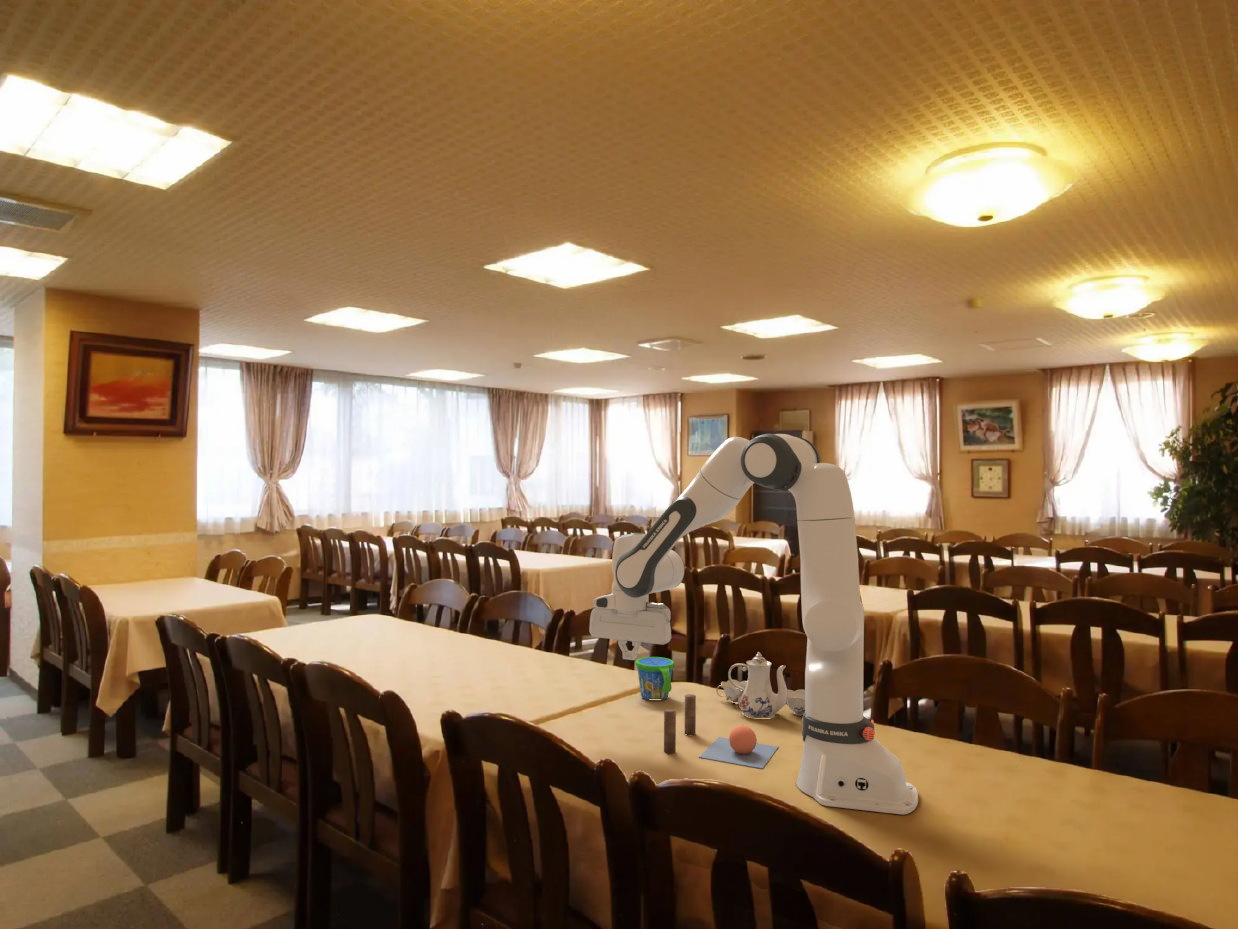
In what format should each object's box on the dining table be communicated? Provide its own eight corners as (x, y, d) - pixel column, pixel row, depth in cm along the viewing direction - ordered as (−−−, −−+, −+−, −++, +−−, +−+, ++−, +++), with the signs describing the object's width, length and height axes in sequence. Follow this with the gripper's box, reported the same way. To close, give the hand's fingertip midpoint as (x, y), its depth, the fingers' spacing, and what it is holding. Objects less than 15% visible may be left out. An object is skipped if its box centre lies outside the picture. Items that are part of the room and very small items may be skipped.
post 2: (697, 733, 175) (697, 695, 175) (693, 736, 173) (693, 698, 173) (686, 731, 176) (687, 693, 177) (683, 734, 174) (683, 696, 174)
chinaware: (822, 717, 193) (824, 653, 195) (810, 729, 178) (811, 660, 180) (720, 703, 205) (723, 642, 207) (701, 713, 191) (703, 648, 193)
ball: (741, 716, 166) (729, 738, 167) (733, 724, 160) (720, 746, 161) (764, 733, 163) (751, 754, 164) (757, 741, 158) (744, 764, 159)
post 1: (677, 750, 163) (677, 710, 164) (673, 754, 161) (673, 713, 161) (666, 749, 164) (666, 708, 165) (662, 752, 162) (662, 711, 162)
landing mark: (778, 747, 166) (778, 746, 166) (762, 769, 153) (762, 768, 153) (718, 738, 172) (718, 737, 172) (698, 757, 159) (698, 757, 159)
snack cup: (682, 704, 198) (683, 666, 198) (646, 707, 195) (646, 669, 195) (662, 689, 213) (662, 653, 213) (628, 691, 210) (628, 655, 210)
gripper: (675, 602, 174) (675, 661, 173) (598, 596, 182) (598, 652, 182) (665, 606, 168) (665, 667, 167) (586, 599, 177) (586, 657, 176)
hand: (629, 659), depth 175 cm, fingers closed
